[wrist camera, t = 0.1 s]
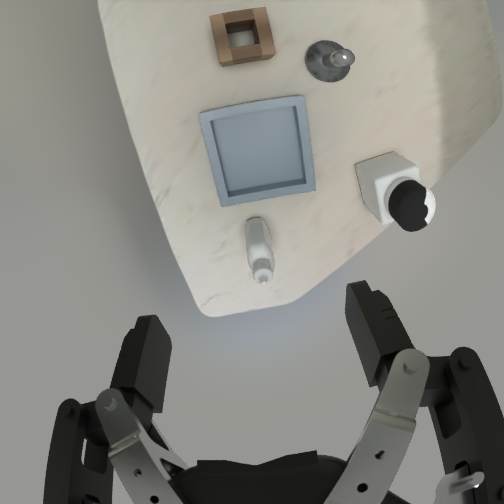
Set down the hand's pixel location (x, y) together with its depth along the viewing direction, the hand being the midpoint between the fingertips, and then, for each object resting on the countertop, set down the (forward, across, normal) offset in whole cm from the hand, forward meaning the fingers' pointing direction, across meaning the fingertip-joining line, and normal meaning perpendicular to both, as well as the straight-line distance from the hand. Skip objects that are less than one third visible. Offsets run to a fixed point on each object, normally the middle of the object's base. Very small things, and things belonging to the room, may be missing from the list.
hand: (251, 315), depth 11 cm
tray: (+29, -2, 0) cm, 29 cm away
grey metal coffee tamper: (+29, -13, -11) cm, 34 cm away
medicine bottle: (+29, -20, +7) cm, 36 cm away
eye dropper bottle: (+29, 0, +13) cm, 32 cm away
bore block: (+29, -3, -15) cm, 33 cm away
